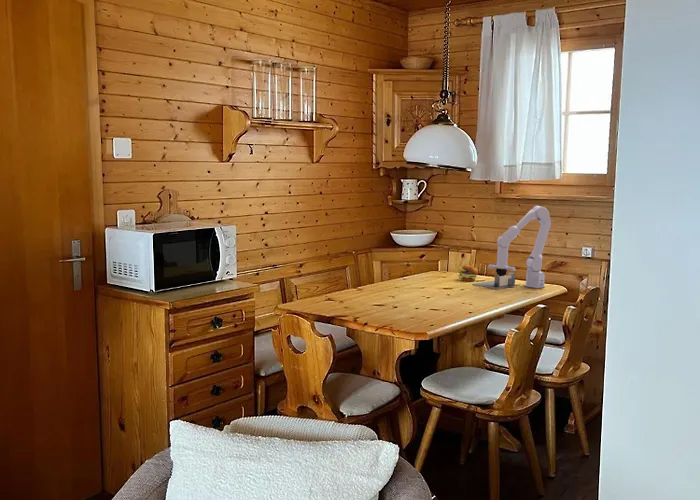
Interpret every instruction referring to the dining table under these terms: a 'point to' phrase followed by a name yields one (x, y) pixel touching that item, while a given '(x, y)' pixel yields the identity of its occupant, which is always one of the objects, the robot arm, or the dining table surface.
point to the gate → (504, 280)
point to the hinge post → (496, 281)
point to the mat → (491, 285)
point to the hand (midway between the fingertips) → (500, 282)
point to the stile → (511, 279)
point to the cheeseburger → (468, 276)
